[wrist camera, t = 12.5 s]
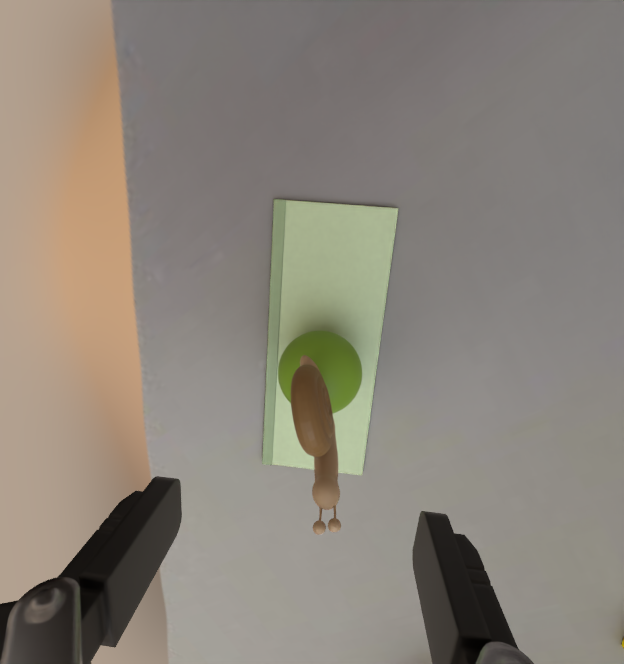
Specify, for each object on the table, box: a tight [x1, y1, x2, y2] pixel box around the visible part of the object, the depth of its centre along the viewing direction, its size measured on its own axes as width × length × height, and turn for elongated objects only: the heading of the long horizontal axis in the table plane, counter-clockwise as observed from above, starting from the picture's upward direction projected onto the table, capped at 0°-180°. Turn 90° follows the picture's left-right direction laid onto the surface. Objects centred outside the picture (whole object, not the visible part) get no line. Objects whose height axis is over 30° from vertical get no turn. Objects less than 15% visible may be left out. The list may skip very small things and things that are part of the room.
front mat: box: [262, 199, 398, 475], centre depth 25 cm, size 20×8×1 cm, turn 176°
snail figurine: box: [278, 331, 362, 535], centre depth 20 cm, size 5×6×12 cm
